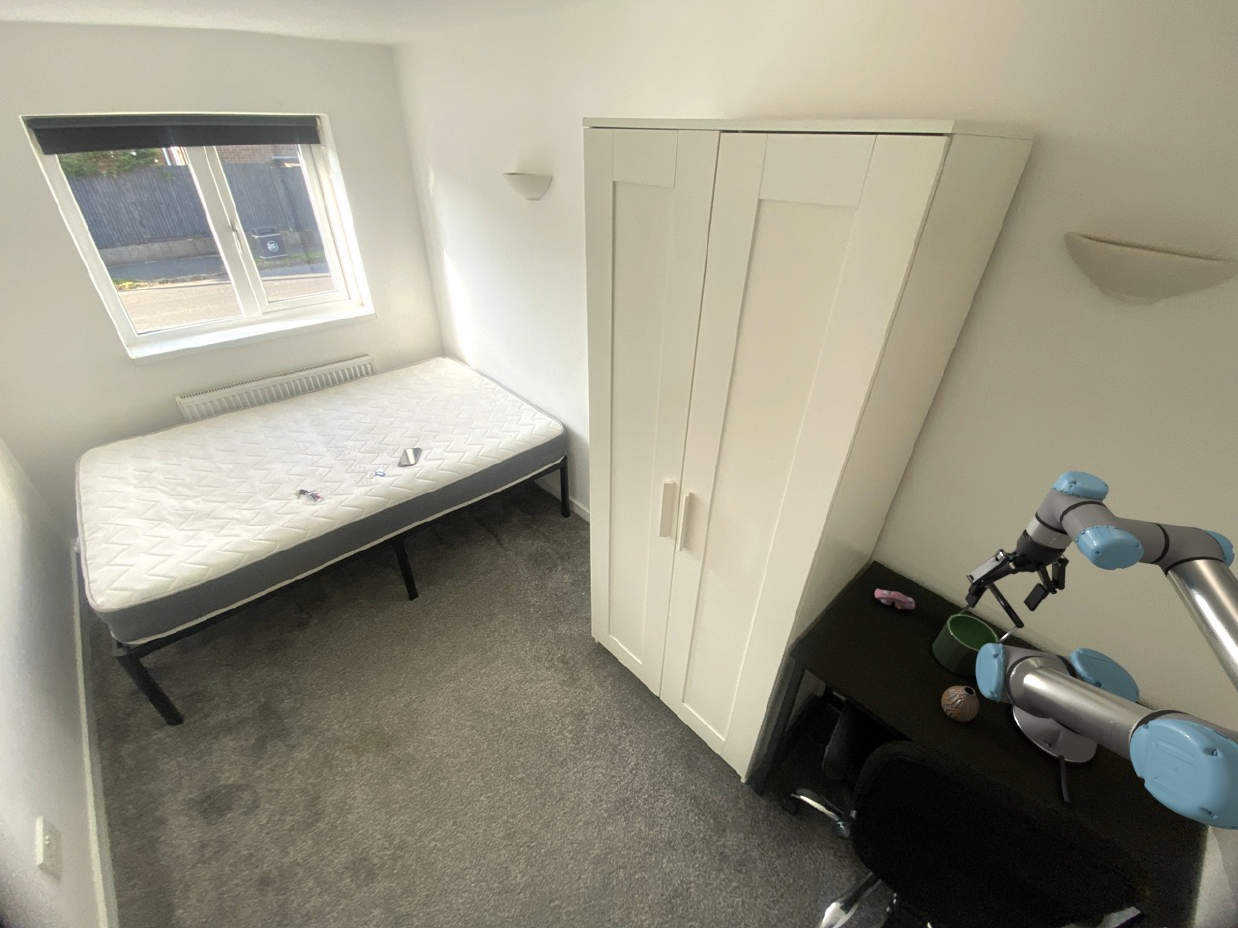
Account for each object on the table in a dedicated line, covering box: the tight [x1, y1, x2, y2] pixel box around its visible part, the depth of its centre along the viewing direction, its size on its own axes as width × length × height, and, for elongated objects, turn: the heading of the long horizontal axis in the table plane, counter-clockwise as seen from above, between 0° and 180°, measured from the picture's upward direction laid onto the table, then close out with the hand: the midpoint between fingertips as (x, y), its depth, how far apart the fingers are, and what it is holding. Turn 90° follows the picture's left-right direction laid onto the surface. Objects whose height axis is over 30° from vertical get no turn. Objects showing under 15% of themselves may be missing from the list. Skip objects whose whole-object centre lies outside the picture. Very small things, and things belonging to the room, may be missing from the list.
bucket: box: [931, 582, 1025, 677], centre depth 123 cm, size 11×13×22 cm
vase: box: [940, 685, 980, 723], centre depth 115 cm, size 7×7×9 cm
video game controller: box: [874, 588, 916, 610], centre depth 141 cm, size 10×5×7 cm, turn 67°
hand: (998, 605), depth 117 cm, fingers open, 13 cm apart
